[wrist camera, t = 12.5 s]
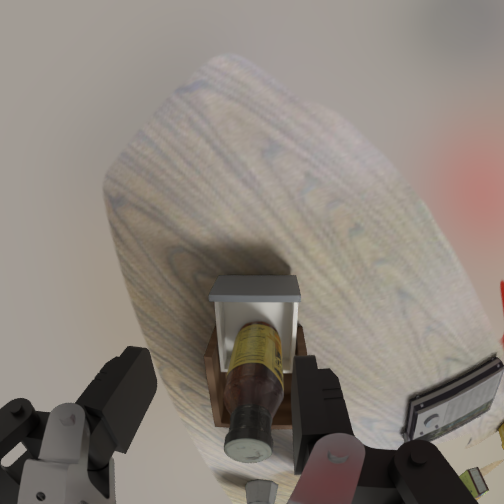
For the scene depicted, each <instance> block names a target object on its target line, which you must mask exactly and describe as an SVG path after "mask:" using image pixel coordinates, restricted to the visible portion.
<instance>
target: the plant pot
mask: <svg viewBox="0 0 504 504" xmlns="http://www.w3.org/2000/svg"><path fill="white" fill-rule="evenodd" d="M499 434H500V437H501V441H502V448H503V449H504V423H503V424H502V425H501V427H500V428H499Z"/></svg>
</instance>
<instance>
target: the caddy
mask: <svg viewBox="0 0 504 504" xmlns="http://www.w3.org/2000/svg"><path fill="white" fill-rule="evenodd" d="M295 356H307V350H306V344H305V339H304V333H303V328H302V326H297V333H296V349H295ZM204 361H205V368H206V375H207V382H208V388H209V394H210V400H211V406H212V412H213V418H214V423H215V427H226V428H230V417H231V415H230V413H229V412H228V410H227V408H226V406H225V403H224V400H223V398H224V390H225V387H226V377H227V372H221V367H220V357H219V347H218V337H217V326H216V325H215V328H214V331H213V333H212V336H211V339H210V342H209V344H208V347H207V350H206V353H205V355H204ZM283 383H284V398H283V400H282V402H281V404H280V406H279V408H278V409H277V411H276V413H275V415H274V417H273V419H272V424H271V429H292V411H291V383H292V373H283Z"/></svg>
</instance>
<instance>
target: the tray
mask: <svg viewBox="0 0 504 504" xmlns="http://www.w3.org/2000/svg"><path fill="white" fill-rule="evenodd" d="M209 302H214V303H215V315H216V326H217V337H218V347H219V357H220V367H221V372H228V368H229V364H230V359H231V355H232V351H233V347H234V342H235V338H236V336H237V334H238V332H239V331H240V329H241V328H242V327H243V326H244V325H245V324H247V323H250V322H255V321H262V322H266V323H268V324H269V325H271V326H273V327H274V328H275V329H276V330H277V331H278V334H279V337H280V339H281V347H282V364H283V373H292V370H293V358H294V356H295V349H296V333H297V315H298V302H301V294H300V289H299V285H298V281H297V277H296V275H219V276H218V278H217V280H216V282H215V284H214V285H213V287H212V289H211V291H210V293H209Z"/></svg>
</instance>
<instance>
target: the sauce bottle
mask: <svg viewBox="0 0 504 504" xmlns="http://www.w3.org/2000/svg"><path fill="white" fill-rule="evenodd" d="M283 398H284V383H283V364H282V347H281V339H280V337H279V334H278V331H277V330H276V329H275V328H274V327H273V326H271V325H269V324H268V323H266V322H262V321H255V322H250V323H247V324H245V325H244V326H243V327H242V328H241V329H240V331H239V332H238V334H237V336H236V338H235V342H234V347H233V351H232V355H231V359H230V364H229V368H228V372H227V377H226V387H225V390H224V398H223V400H224V403H225V406H226V408H227V410H228V412H229V413H230V415H231V417H230V428H229V433H228V434H227V435H226V437H225V443H224V452H225V453H226V455H227V456H229V457H230V458H232V459H233V460H235V461H238V462H243V463H257V462H261V461H263V460H265V459H267V458H269V457H270V456H271V454H272V449H273V439H272V437H271V424H272V419H273V417H274V415H275V413H276V411H277V409H278V408H279V406H280V404H281V402H282V400H283Z"/></svg>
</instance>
